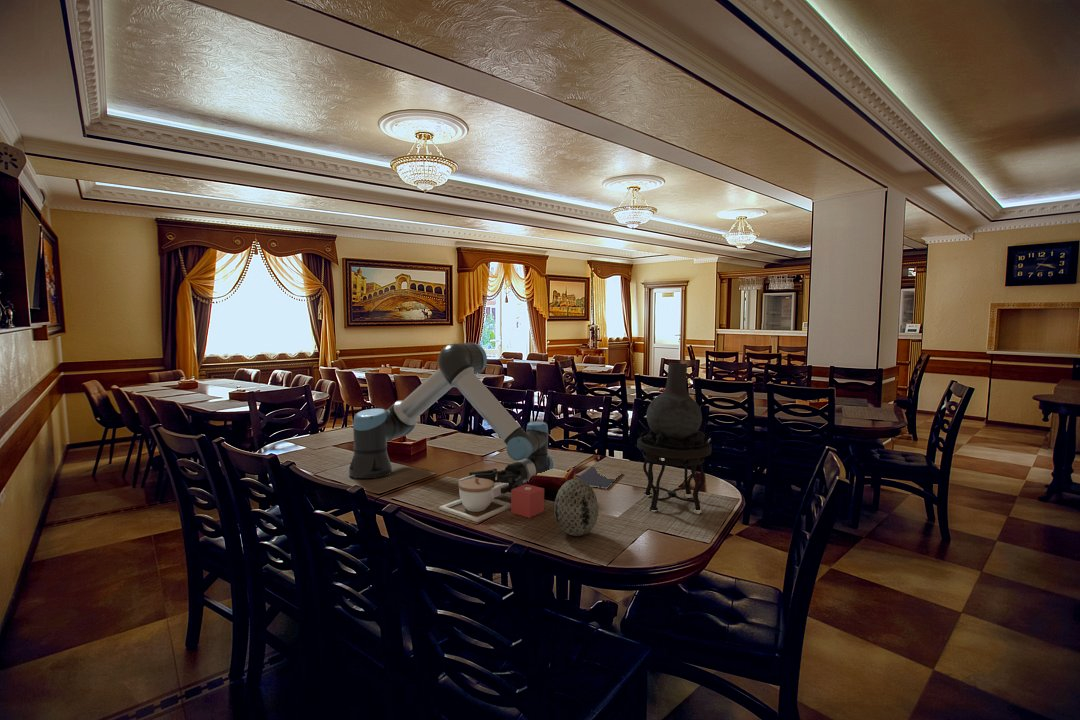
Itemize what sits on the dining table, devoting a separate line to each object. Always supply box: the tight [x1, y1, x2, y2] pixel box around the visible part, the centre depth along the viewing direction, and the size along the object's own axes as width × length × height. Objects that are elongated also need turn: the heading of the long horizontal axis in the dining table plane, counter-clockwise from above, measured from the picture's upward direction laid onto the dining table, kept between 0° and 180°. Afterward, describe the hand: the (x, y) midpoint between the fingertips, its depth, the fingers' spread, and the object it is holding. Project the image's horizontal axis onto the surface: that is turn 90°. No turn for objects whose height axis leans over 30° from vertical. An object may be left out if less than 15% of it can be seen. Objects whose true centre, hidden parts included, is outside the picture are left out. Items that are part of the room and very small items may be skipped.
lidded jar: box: [458, 477, 495, 513], centre depth 151 cm, size 11×11×9 cm
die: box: [510, 483, 545, 519], centre depth 148 cm, size 7×7×7 cm
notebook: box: [575, 466, 614, 489], centre depth 183 cm, size 13×2×21 cm
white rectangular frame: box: [438, 483, 511, 523], centre depth 157 cm, size 31×16×1 cm, turn 143°
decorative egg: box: [553, 478, 599, 537], centre depth 133 cm, size 12×12×15 cm
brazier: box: [636, 362, 712, 511], centre depth 156 cm, size 22×22×45 cm
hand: (475, 488), depth 150 cm, fingers open, 13 cm apart
